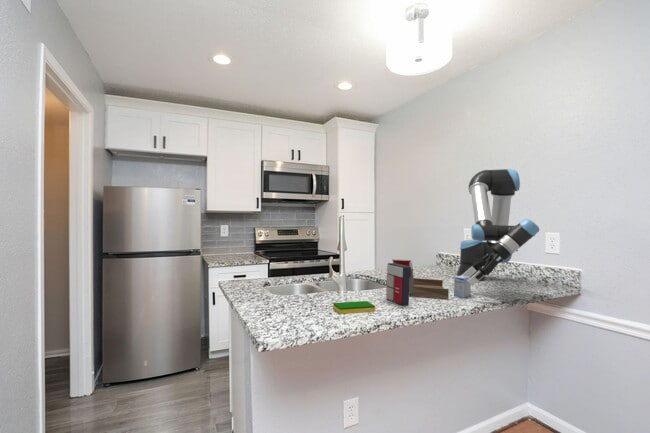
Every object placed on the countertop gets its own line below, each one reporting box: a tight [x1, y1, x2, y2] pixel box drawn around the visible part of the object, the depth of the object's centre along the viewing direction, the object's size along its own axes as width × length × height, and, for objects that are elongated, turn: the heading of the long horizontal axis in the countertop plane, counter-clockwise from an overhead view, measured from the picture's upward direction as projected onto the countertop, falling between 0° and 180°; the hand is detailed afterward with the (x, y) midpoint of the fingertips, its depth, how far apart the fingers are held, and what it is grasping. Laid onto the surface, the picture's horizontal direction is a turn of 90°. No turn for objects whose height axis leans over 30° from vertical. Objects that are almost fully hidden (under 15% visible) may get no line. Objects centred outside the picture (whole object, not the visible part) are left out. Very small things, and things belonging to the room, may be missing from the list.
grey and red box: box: [385, 262, 411, 306], centre depth 124 cm, size 11×4×15 cm, turn 23°
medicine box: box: [453, 275, 472, 299], centre depth 137 cm, size 8×4×9 cm, turn 134°
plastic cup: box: [391, 258, 412, 266], centre depth 171 cm, size 11×11×12 cm
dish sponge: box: [332, 300, 376, 315], centre depth 111 cm, size 7×14×2 cm, turn 108°
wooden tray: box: [409, 262, 449, 300], centre depth 143 cm, size 22×16×12 cm
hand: (466, 280), depth 135 cm, fingers open, 13 cm apart
